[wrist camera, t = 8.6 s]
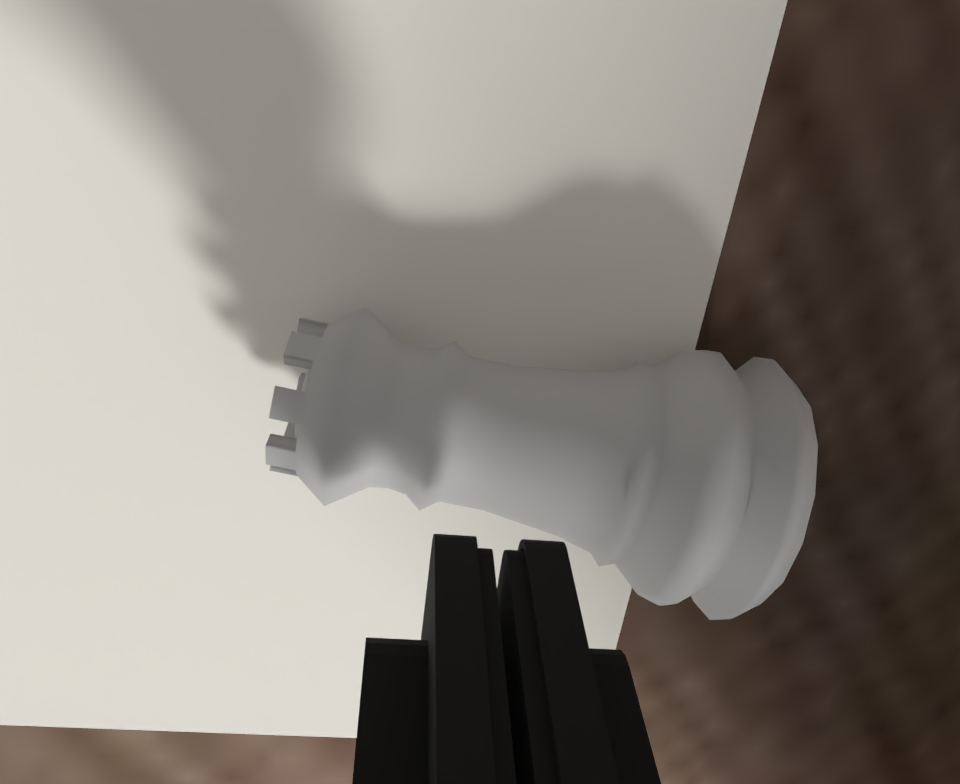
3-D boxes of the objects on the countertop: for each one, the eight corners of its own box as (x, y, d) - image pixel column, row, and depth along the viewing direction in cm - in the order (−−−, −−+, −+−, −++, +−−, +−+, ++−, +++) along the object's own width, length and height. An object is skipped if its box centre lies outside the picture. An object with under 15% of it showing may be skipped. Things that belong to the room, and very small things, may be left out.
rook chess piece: (761, 686, 13) (229, 584, 12) (688, 547, 17) (293, 467, 16) (865, 408, 11) (276, 280, 11) (758, 334, 16) (332, 240, 15)
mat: (801, -114, 12) (818, -115, 12) (585, 726, 21) (589, 746, 20) (-388, -289, 11) (-430, -299, 10) (-99, 698, 19) (-113, 720, 19)
